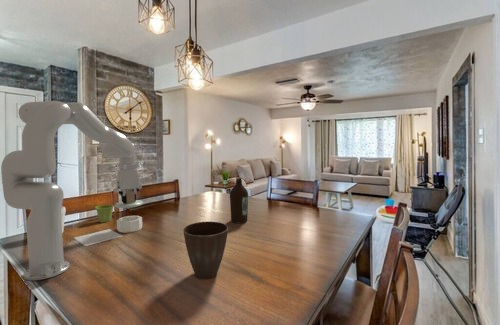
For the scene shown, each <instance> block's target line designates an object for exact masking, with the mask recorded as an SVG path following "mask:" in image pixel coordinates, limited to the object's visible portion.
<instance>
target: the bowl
mask: <svg viewBox="0 0 500 325" xmlns="http://www.w3.org/2000/svg"><path fill="white" fill-rule="evenodd" d="M142 227H143V217H142V216H139V215H127V216H123V217H120V218H118V219H116V231H118V232H119V233H122V234H123V233H133V232H136V231H137V232H138V231H139V230H142Z"/></svg>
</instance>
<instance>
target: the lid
mask: <svg viewBox="0 0 500 325" xmlns="http://www.w3.org/2000/svg"><path fill="white" fill-rule="evenodd" d="M125 196H126V200H127V203H126V204H124V203H123V202H122V201H118V202H116V203H115V204H114V207H115V208H118V209H130V208H136V207H140V206H143V204H144V202H143V200H140V199H139V200H138V199H136V202H135V193H134V191H132V190H126V193H125Z"/></svg>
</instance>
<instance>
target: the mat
mask: <svg viewBox="0 0 500 325" xmlns="http://www.w3.org/2000/svg"><path fill="white" fill-rule="evenodd" d="M121 237H123V235H122V234H121V233H118V232H116V231H114V230H112V229H110V228H108V229H105V230H99V231H96V232H93V233H88V234H84V235H79V236H75V237H73V239H75V240H76V241H77V242H78V243H80V244H81V245H83V246H84V247H88V246H91V245H95V244H99V243H103V242H107V241H111V240H114V239H118V238H121Z"/></svg>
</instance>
